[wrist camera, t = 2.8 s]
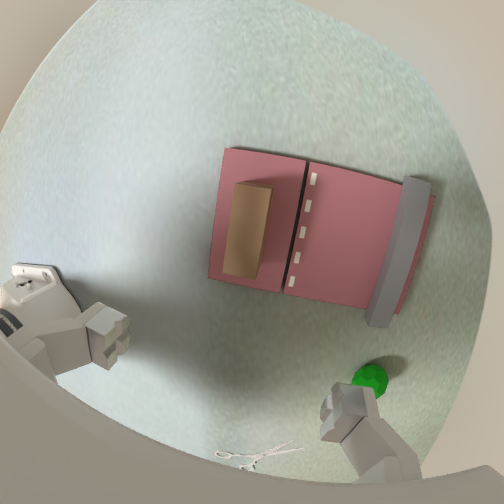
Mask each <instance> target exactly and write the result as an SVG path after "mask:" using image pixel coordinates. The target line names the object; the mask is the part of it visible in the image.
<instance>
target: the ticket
mask: <svg viewBox="0 0 504 504" xmlns="http://www.w3.org/2000/svg"><path fill="white" fill-rule="evenodd" d="M431 186H432V184H431V183H428V182H426V181H423V180H420V179H417V178H414V177H410V176H404V180H403V185H400V184H396V183H393V182H390V181H386V180H383V179H379V178H376V177H372V176H369V175H365V174H361V173H357V172H353V171H349V170H345V169H341V168H337V167H333V166H328V165H324V164H319V163H314V162H309V168H308V174H307V179H306V184H305V190H304V195H303V200H302V205H301V211H300V216H299V221H298V226H297V230H296V235H295V240H294V245H293V250H292V254H291V259H290V263H289V268H288V272H287V277H286V281H285V286H284V291H283V294H288V295H293V296H298V297H303V298H308V299H314V300H319V301H324V302H330V303H335V304H341V305H347V306H352V307H358V308H364V309H367V311H366V314H365V316H364V317H365V319H366V322H367V324H368V326H373V327H380V328H387V327H388V325H389V323H390V320H391V318H392V315H393V313H395V314H399V311H400V309H401V306H402V304H403V301H404V299H405V296H406V293H407V291H408V288H409V285H410V282H411V280H412V277H413V274H414V271H415V268H416V265H417V262H418V259H419V256H420V252H421V249H422V246H423V242H424V239H425V235H426V231H427V228H428V224H429V220H430V216H431V211H432V207H433V203H434V198H435V196H433V195H430V191H431Z"/></svg>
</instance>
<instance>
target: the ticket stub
mask: <svg viewBox="0 0 504 504" xmlns="http://www.w3.org/2000/svg"><path fill="white" fill-rule="evenodd" d="M305 164H306V161H305V160H300V159H295V158H289V157H284V156H278V155H272V154H266V153H260V152H253V151H246V150H239V149H232V148H225V149H224V156H223V162H222V169H221V176H220V183H219V190H218V197H217V204H216V212H215V220H214V228H213V236H212V244H211V253H210V262H209V271H208V278H210V279H215V280H219V281H224V282H228V283H233V284H238V285H242V286H247V287H252V288H256V289H261V290H266V291H271V292H276V293H280V289H281V284H282V280H283V275H284V271H285V266H286V261H287V257H288V252H289V247H290V242H291V238H292V233H293V228H294V223H295V218H296V213H297V207H298V202H299V197H300V192H301V186H302V181H303V175H304V170H305Z"/></svg>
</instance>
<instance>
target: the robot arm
mask: <svg viewBox="0 0 504 504" xmlns="http://www.w3.org/2000/svg"><path fill="white" fill-rule="evenodd" d="M129 326H130V318H129V317H128V316H127V315H125V314H123V313H121V312H119V311H117V310H115V309H113V308H111V307H108V306H106V305H104V304H102V303H100V302H96V303H95V304H93V305H92V306H91V307H89V308H88V309H87V310H85V311H84V312H83V313H82V312H81V310H80V308H79V306H78V305H77V303H76V301H75V300H74V298H73V297H72V295H71V294H70V293H69V292H68V290H67V289H66V288H65V287H64V285H63V284H62V282H61V280H60V278H59V276H58V274H57V272H56V270H55V269H54V268H53V267H52V266H43V265H31V264H21V263H16V264H14V265H13V266H12V279H11V280H9V281H8V282H6V283H5V284H4V285H3V286H2V288H1V295H0V504H504V477H503V476H502V475H501V474H500V473H498V472H497V471H496V470H494V469H493V468H492V467H490V466H488V465H483V466H479V467H476V468H472V469H469V470H465V471H461V472H457V473H452V474H447V475H443V476H437V477H432V478H425V479H422V474H421V469H420V464H419V460H418V456H417V454H416V453H415V452H414V451H413V450H412V449H411V447H410V446H409V445H408V444H407V443H406V442H405V441H404V440H403V439H402V438H401V437H400V436H399V435H398V434H397V433H396V432H395V431H394V429H393V428H392V427H391V426H390V425H389V424H388V423H387V422H386V421H385V420H384V419H383V418H380V415H379V411H378V406H377V402H376V398H375V393H374V389H373V388H372V387H364V386H357V385H351V384H345V383H339V382H336V383H335V384H334V386H333V387H332V389H331V390H332V394H330V395H328V396H326V398H325V399H324V401H323V404H322V406H321V411H320V419H321V420H322V421H323V424H322V425H321V426H320V440H322V441H328V442H335V443H340V445H341V447H342V448H343V450H344V452H345V454H346V455H347V457H348V458H349V460H350V462H351V463H352V465H353V467H354V468H355V470H356V472H357V473H358V475H359V478H358V479H356V480H355V481H354V482H352V483H328V482H315V481H305V480H297V479H289V478H283V477H277V476H271V475H265V474H260V473H256V472H251V471H247V470H242V469H238V468H234V467H231V466H227V465H223V464H220V463H216V462H213V461H210V460H207V459H204V458H200V457H197V456H195V455H192V454H189V453H186V452H183V451H181V450H178V449H175V448H173V447H170V446H168V445H165V444H163V443H161V442H158V441H156V440H154V439H151V438H149V437H147V436H145V435H143V434H141V433H138V432H136V431H134V430H132V429H130V428H128V427H126V426H124V425H122V424H120V423H119V422H117V421H115V420H113V419H111V418H109V417H108V416H106V415H104V414H102V413H101V412H99V411H97V410H96V409H94V408H92V407H91V406H89V405H87V404H86V403H84V402H83V401H81V400H80V399H78V398H77V397H75V396H74V395H72V394H71V393H69V392H68V391H66V390H65V389H63V388H62V387H61V386H59V385H58V383H57V380H56V377H55V376H56V375H59V374H62V373H65V372H67V371H70V370H73V369H76V368H78V367H81V366H84V365H87V364H89V363H91V362H93V363H95V364H97V365H99V366H101V367H103V368H104V369H106V370H108V371H109V370H110V368H111V367H112V366H113V365H114V364H115V363H116V362H117V356H118V355H122V354H124V352H125V351H126V350H127V348H128V346H129V344H130V332H129V330H128V327H129Z"/></svg>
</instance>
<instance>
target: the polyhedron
mask: <svg viewBox="0 0 504 504" xmlns="http://www.w3.org/2000/svg"><path fill="white" fill-rule="evenodd" d="M388 382H389V380H388V376H387V373H386V372H385V370H384V369H382V368H381V367H380V366H377V365H366V366H364V367H362V368H361V369H359V370H358V371H357V372H356V373H355V375H354V377H353V379H352V384H351V385H357V386H364V387H372V388H373V389H374V393H375V398H376V399H377V398H379V397H380V396H381V395H383V394H384V393H385V390H386V388H387V385H388Z"/></svg>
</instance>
